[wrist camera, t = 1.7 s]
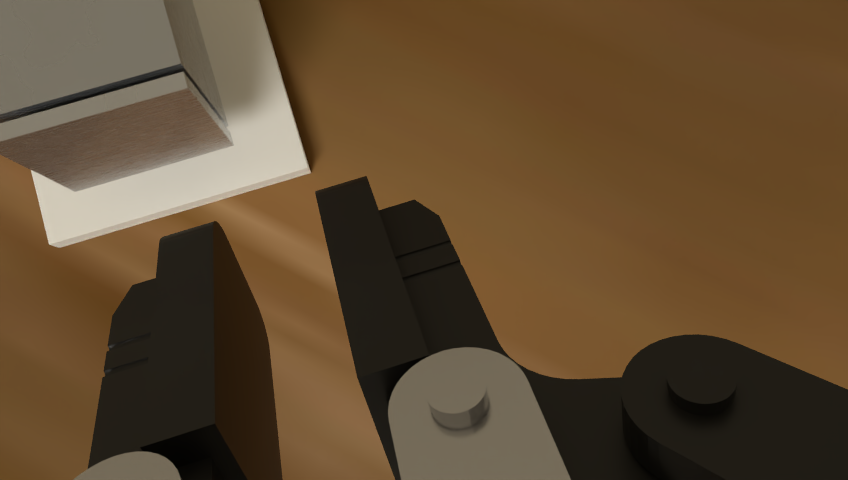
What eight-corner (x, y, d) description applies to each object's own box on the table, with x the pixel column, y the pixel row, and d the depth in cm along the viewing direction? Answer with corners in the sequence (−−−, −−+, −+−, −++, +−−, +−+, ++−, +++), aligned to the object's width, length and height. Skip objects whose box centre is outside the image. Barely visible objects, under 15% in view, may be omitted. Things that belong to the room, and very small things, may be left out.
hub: (26, 0, 32) (-73, -95, 25) (180, -42, 32) (122, -146, 26) (75, 191, 31) (-17, 145, 24) (233, 145, 31) (187, 88, 24)
